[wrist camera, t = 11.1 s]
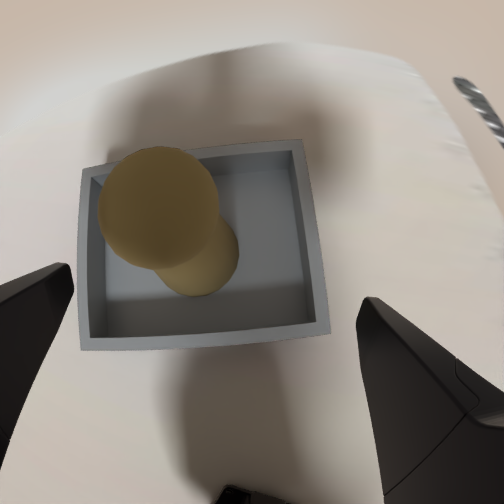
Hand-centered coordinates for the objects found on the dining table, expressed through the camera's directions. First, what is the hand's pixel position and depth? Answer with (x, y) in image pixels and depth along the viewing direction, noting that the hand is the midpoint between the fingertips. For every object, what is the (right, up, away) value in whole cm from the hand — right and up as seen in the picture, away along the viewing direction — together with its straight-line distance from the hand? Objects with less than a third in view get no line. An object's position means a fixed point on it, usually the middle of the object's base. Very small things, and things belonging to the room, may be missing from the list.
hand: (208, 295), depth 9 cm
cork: (-3, +1, +13) cm, 14 cm away
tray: (-3, +1, +14) cm, 14 cm away
